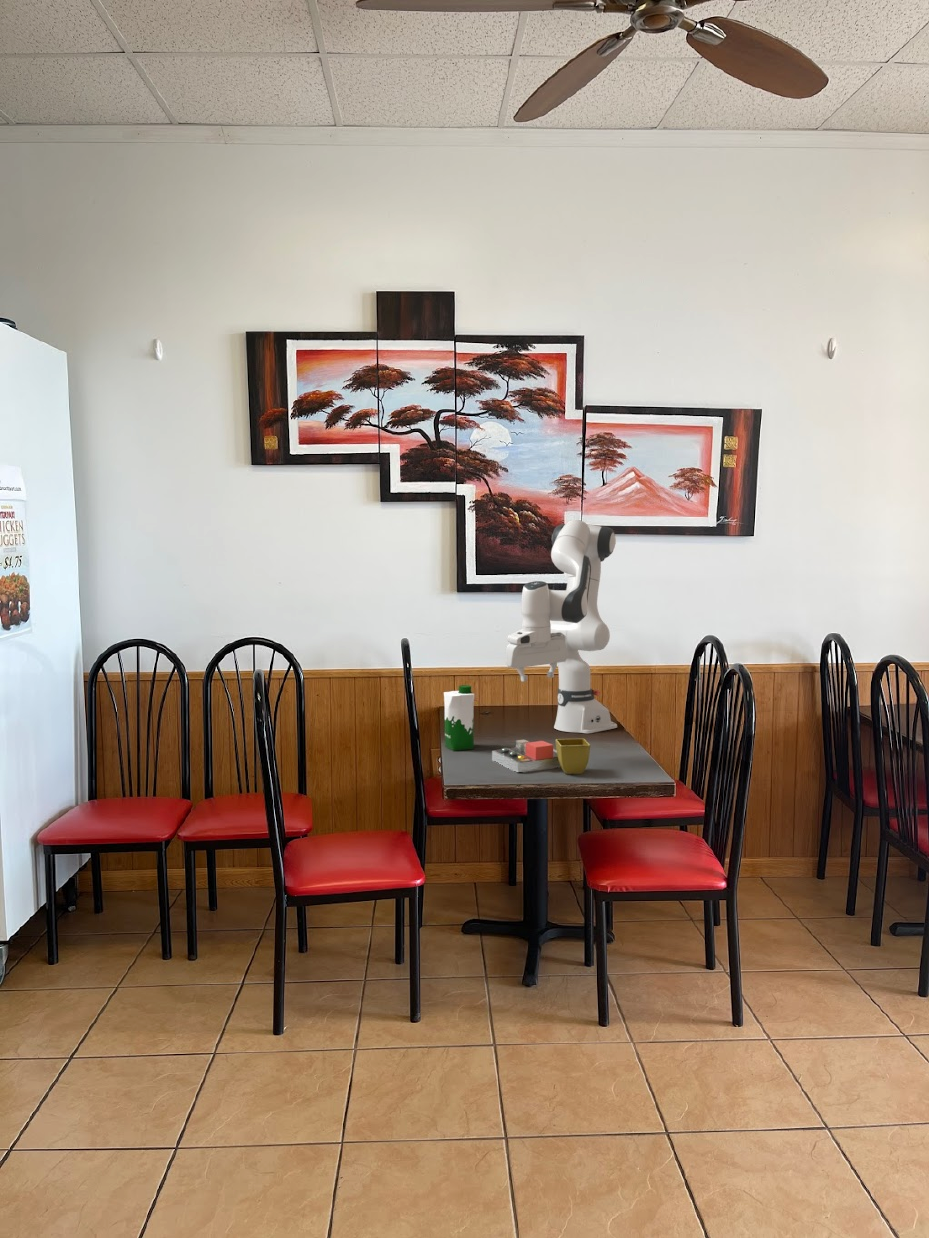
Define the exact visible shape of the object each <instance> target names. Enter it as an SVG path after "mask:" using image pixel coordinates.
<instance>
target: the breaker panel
mask: <svg viewBox="0 0 929 1238" xmlns="http://www.w3.org/2000/svg"><path fill="white" fill-rule="evenodd" d="M529 742H530V741H529V740H526V739H517V740H515V746H514V747H510V748H508V747H501V748H500V749H495V750H491V762H494V761H496V762H498V763H499V764H498V763H497V764H498V765H500V764H501V765H500V766H502V765H503V766H502V767H503V768H504V767H505V768H506V769H508V768H509V769H508V770H510V771H512V772H514V771H516V772H522V771H530V772H536V771H542V770H549V769H550V770H551V769H557V767H558V768H561V766H560V763H559V761H558V757H557V750H556V748H555V749H554V748H553V758H547V759H540V760H534V759H532V758H530V757H528V756H526V743H529ZM496 762H495V763H496ZM516 772H515V773H516Z"/></svg>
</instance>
